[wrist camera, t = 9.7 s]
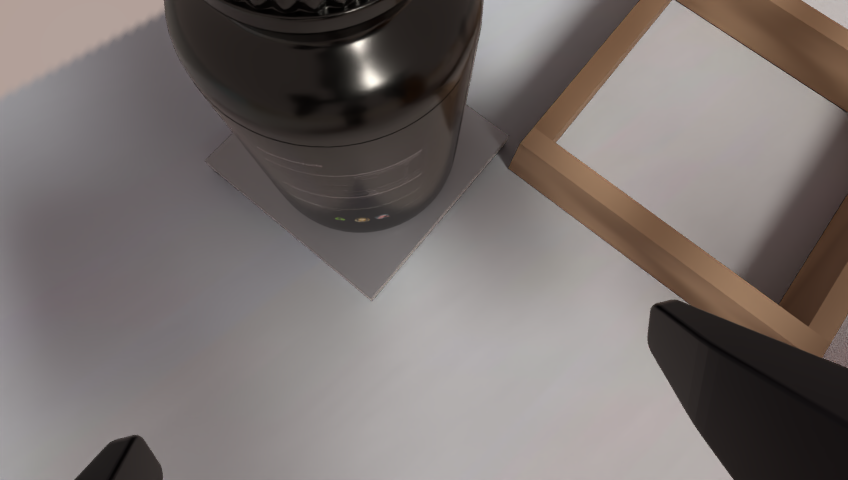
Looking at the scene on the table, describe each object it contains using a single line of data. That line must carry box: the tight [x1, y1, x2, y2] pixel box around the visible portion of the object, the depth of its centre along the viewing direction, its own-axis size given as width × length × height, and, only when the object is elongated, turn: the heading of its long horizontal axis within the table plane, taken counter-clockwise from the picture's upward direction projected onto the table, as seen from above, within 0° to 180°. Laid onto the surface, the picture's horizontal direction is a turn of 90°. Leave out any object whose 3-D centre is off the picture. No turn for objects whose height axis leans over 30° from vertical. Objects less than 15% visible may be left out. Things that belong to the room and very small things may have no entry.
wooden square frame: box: [508, 0, 848, 358], centre depth 19 cm, size 12×12×2 cm
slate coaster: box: [205, 105, 509, 301], centre depth 19 cm, size 8×8×1 cm
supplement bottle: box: [164, 0, 484, 233], centre depth 13 cm, size 7×7×12 cm
